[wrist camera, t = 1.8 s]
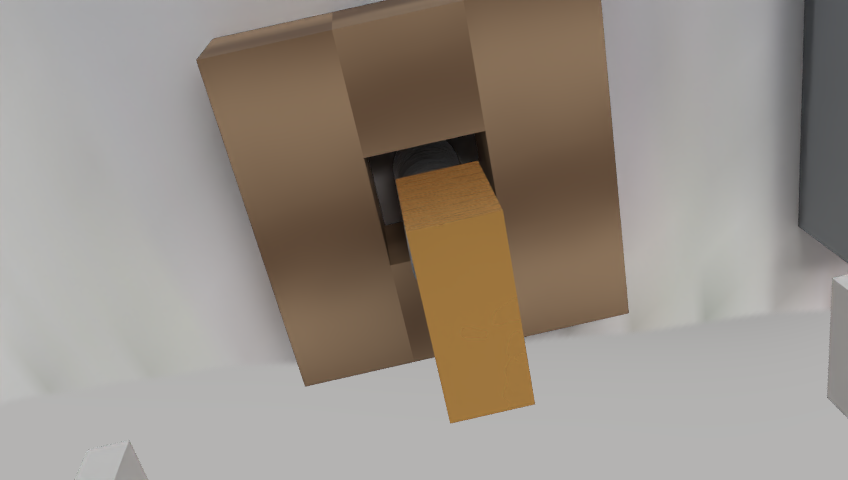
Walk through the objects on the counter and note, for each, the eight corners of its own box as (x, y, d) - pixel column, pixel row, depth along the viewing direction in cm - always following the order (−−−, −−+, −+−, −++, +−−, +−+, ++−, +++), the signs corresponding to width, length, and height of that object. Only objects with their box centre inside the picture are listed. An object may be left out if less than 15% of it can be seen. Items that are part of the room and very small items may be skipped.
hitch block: (213, 39, 23) (196, 60, 20) (567, -41, 23) (598, -30, 20) (308, 337, 28) (305, 386, 25) (600, 270, 28) (628, 313, 25)
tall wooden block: (376, 102, 24) (401, 233, 15) (443, 87, 24) (507, 209, 15) (408, 238, 26) (446, 424, 17) (470, 225, 26) (539, 403, 17)
